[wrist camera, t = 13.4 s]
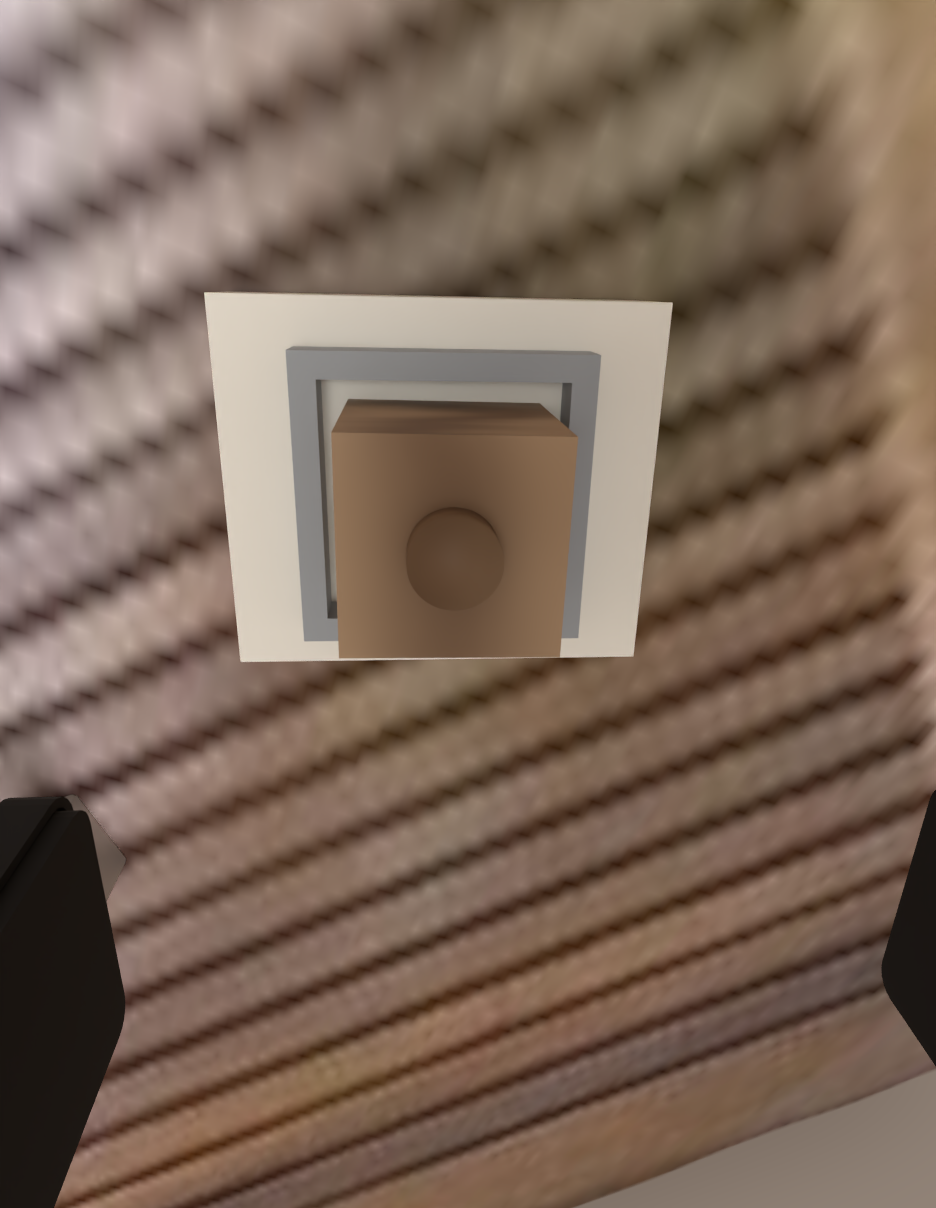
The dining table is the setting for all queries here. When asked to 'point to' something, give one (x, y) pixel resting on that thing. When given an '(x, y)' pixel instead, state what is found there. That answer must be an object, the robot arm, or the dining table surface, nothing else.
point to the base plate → (428, 373)
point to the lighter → (103, 850)
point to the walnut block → (451, 528)
